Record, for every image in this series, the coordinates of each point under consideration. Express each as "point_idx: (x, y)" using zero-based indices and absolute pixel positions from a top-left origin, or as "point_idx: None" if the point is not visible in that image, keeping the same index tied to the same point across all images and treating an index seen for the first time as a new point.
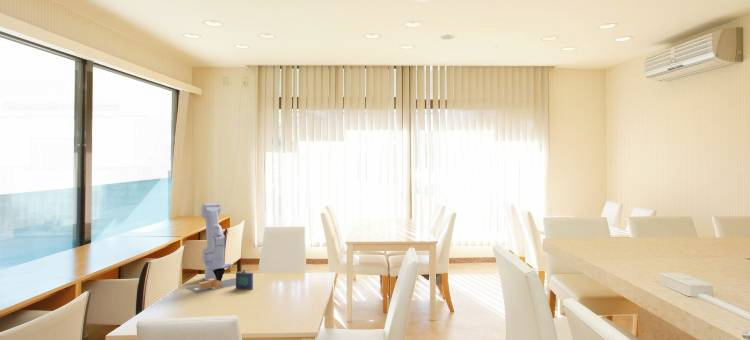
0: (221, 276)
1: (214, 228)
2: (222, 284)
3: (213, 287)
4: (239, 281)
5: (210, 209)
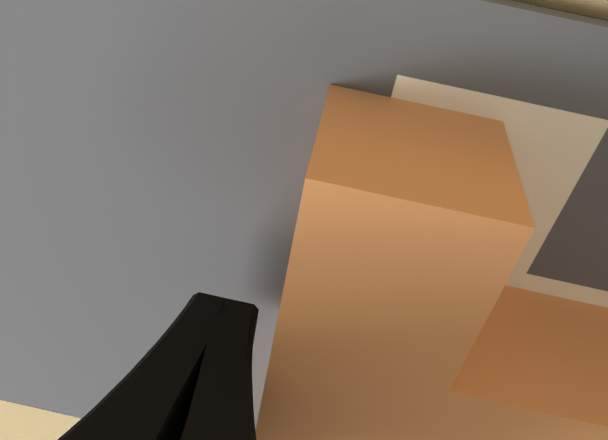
0: (124, 426)
1: None
2: (162, 246)
3: None
4: None
5: None
